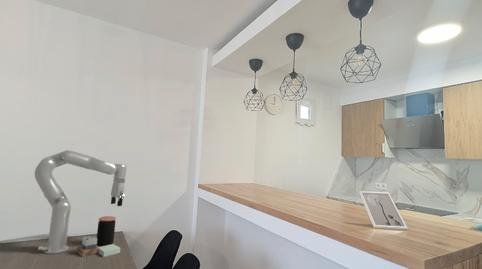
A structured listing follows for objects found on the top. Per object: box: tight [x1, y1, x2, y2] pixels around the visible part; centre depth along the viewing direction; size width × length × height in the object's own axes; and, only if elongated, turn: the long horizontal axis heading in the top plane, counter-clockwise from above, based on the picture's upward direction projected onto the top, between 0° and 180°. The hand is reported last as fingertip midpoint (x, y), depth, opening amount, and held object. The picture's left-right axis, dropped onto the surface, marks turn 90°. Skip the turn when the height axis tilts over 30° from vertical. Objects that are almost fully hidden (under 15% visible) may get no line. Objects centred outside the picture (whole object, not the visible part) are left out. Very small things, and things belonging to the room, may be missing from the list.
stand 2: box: [97, 243, 121, 257], centre depth 162 cm, size 10×10×3 cm
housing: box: [81, 234, 97, 250], centre depth 161 cm, size 6×6×7 cm
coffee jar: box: [96, 215, 117, 247], centre depth 176 cm, size 11×11×18 cm
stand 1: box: [76, 245, 99, 258], centre depth 160 cm, size 10×10×3 cm
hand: (116, 204), depth 183 cm, fingers open, 9 cm apart
